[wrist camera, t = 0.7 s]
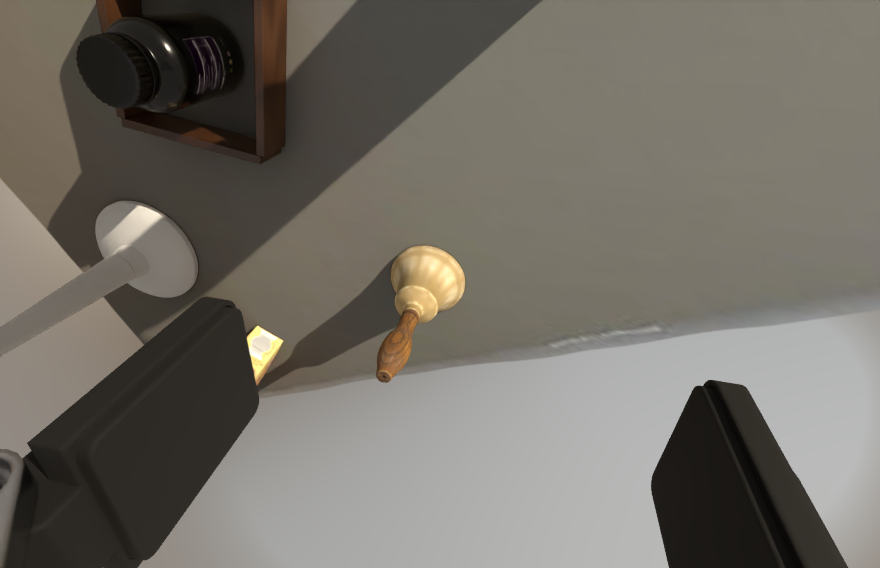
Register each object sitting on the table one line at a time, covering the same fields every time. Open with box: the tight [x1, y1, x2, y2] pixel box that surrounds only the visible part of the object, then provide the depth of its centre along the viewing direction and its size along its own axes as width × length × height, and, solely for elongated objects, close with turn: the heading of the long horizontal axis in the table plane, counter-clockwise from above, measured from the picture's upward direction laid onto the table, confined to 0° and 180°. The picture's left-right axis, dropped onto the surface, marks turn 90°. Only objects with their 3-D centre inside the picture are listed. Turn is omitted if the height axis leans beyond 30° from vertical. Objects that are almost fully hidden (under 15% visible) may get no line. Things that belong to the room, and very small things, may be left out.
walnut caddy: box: [96, 0, 287, 164], centre depth 40 cm, size 15×15×4 cm
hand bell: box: [376, 246, 465, 383], centre depth 43 cm, size 8×8×16 cm
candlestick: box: [0, 201, 198, 357], centre depth 43 cm, size 13×13×30 cm
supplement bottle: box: [76, 13, 242, 113], centre depth 37 cm, size 7×7×12 cm
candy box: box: [247, 326, 283, 385], centre depth 54 cm, size 9×4×15 cm, turn 148°
